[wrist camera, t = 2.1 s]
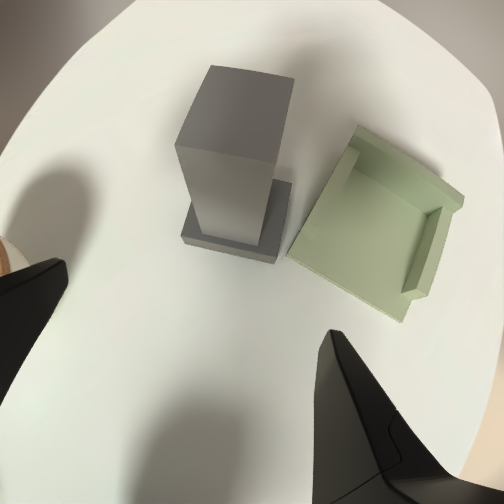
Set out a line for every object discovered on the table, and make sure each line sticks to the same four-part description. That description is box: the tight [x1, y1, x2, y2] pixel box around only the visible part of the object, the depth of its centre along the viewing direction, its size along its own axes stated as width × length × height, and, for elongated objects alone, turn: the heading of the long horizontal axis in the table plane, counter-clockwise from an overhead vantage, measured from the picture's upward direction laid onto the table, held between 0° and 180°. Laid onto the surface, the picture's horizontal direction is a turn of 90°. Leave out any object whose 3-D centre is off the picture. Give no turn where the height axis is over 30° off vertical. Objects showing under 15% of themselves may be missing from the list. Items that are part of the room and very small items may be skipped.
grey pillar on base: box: [175, 65, 294, 264], centre depth 18 cm, size 6×7×13 cm
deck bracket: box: [286, 125, 465, 323], centre depth 23 cm, size 11×11×4 cm
